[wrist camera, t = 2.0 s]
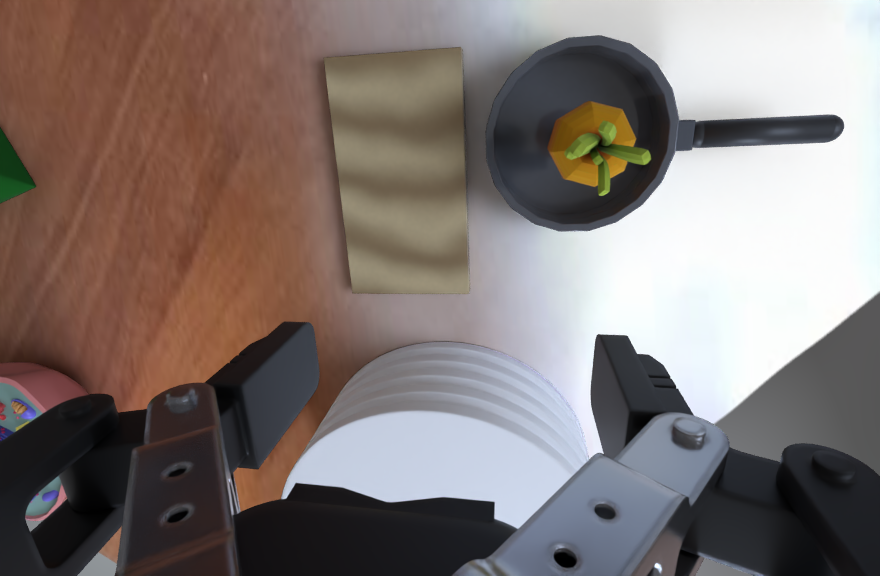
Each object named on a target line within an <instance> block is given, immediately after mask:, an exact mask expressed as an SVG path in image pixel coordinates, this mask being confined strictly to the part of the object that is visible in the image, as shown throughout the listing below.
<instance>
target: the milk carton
mask: <svg viewBox="0 0 880 576" xmlns="http://www.w3.org/2000/svg"><path fill="white" fill-rule="evenodd" d="M35 187H36V185H35V184H34V182H33V180H32V179H31V177H30V175H29V174H28V172H27V170H26V169H25V167H24V165H23V164H22V162H21V160H20V159H19V157H18V156H17V154H16V152H15V151H14V149H13V147H12V146H11V144H10V142H9V141H8V139H7V137H6V136H5V134H4V133H3V131H2V129H1V128H0V203H2V202H4V201H7V200H9V199H11V198H13V197H15V196H17V195H20V194H22V193H24V192H26V191H28V190H30V189H33V188H35Z"/></svg>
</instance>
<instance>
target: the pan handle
mask: <svg viewBox="0 0 880 576" xmlns="http://www.w3.org/2000/svg"><path fill="white" fill-rule="evenodd" d="M843 129H844V122H843V120H842V119H841V118H840V117H838V116H836V115H810V116H790V117H770V118H750V119H730V120H710V121H698V122H696V121H695V120H679V126H678V134H677V143H676V151H689V150H692V147H694V148H707V147H731V146H756V145H780V144H804V143H825V142H830V141H833V140H835V139H836V138H837V137H839V136H840V134H841V133H842V132H843Z"/></svg>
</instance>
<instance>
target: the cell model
mask: <svg viewBox="0 0 880 576" xmlns="http://www.w3.org/2000/svg"><path fill="white" fill-rule="evenodd" d="M84 395H89V394H88V392H87V391H86V390H85V389H84V388H83V387H82V386H81V385H80V384H79V383H77V382H76V381H74V380H73V379H71V378H70V377H68V376H66V375H65V374H63V373H60V372H58V371H55V370H53V369H51V368H49V367H47V366H44V365H41V364H36V363H28V362H11V363H0V442H1V441H2V440H4V439H5V438H7V437H8V436H10V435H11V434H13V433H14V432H16V431H17V430H19V429H20V428H22V427H23V426H25V425H26V424H28V423H29V422H31V421H32V420H34V419H35V418H37V417H38V416H40V415H41V414H43V413H44V412H46V411H47V410H49V409H51V408H52V407H54V406H56V405H58V404H60V403H62V402H65V401H67V400H70V399H73V398H76V397H80V396H84ZM66 498H67V496H66V494H65V491H64V488H63V486H62V483H61V480H60V478H59V476H58V477H56V478H55V479H54V480H53V481H52V482H50V483H49V484H48V485H47V486H46V487H44V488H43V489H42V490H41V491H40V492H38V493H37V494H36V495H35V496H34V498H33V499H32V500H31V502H30V503H29V505H28V508H27V510H26V516H25V519H26V520H31V521H39V520H44V519H46V518H47V517H48V516H49V515H50V514H51V513H52V512H53V511H54V510H56V509H57V508H58V507H59V506H60V505H61V504H62V503H63V502H64V500H65V499H66Z"/></svg>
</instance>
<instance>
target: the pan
mask: <svg viewBox="0 0 880 576" xmlns="http://www.w3.org/2000/svg"><path fill="white" fill-rule="evenodd" d="M588 101H592V102H596V103H600V104H604V105H608V106H612V107H616V108H620V109H623V112H624V114H625V116H626V118H627V120H628V122H629V124H630V126H631V129H632V131H633V133H634V135H635V137H636V141H635V143H634V146H633V147H637V148H643V149H646V150H648V151H649V153H650V155H651V160H650V161H649V162H648V163H647V164H645V165H641V164H635V163H632V162H627V165H626V167H625V170H624V171H623V172H621V173H619V174H617V175H615V176H614V177H612V178H610V191H609V192H608V193H607V194H606V195H604V196H599V195H598V185H597V186H595V187H593V186H589V185H585V184H581V183H577V182H574V181H570V180H566V179H563V177H562V176H561V174H560V172H559V170H558V168H557V166H556V164H555V162H554V160H553V159H552V157H551V155H550V153H549V151H548V148H547V147H548V143H549V140H550V137H551V134H552V131H553V127H554V124H555V121H556V120H557V119H559V118H560V117H562V116H564V115H565V114H567V113H568V112H570V111H572V110H573V109H575V108H577V107H578V106H580V105H582V104H583V103H585V102H588ZM678 126H679V116H678V112H677V107H676V102H675V97H674V93H673V89H672V87H671V86H670V84H669V82H668V81H667V79H666V78H665V76H664V75H663V73H662V71H661V70H660V68H659V67H658V65H657V63H655V62H654V61H653V60H652V59H650V58H649V57H648V56H646V55H645V54H644V53H642V52H641V51H640V50H638V49H637V48H636V47H634V46H633V45H631V44H630V43H626V42H622V41H619V40H615V39H612V38H608V37H605V36H600V35H598V36H585V37H572V38H568V39H567V38H566V39H564V40H561V41H559V42H557V43H554V44H552V45H550V46H547V47H545V48H543V49H540V50H538V51H536V52H535V53H534V54H533V55H532V56H531V57H529V58H528V59H527V60H526V61H525V62H524V63H522V64H521V65H520V66H519V67H518V68H516V69H515V70H514V71H513V72H512V73H511V75H510V76H509V78H508V79H507V81H506V82H505V84H504V85H503V87H502V89H501V90H500V92H499V93H498V95H497V96H496V98H495V100H494V103H493V106H492V109H491V113H490V116H489V120H488V123H487V127H486V159H487V160H486V161H487V164H488V167H489V170H490V173H491V176H492V179H493V182H494V184H495V186H496V188H497V190H498V191H499V192H500V194H501V195H502V196H503V198H504V199H505V200H506V202H507V203H508V204H509V206H510V207H511V208H512V209H513V210H515V211H516V212H518V213H519V214H521V215H522V216H523V217H525V218H526V219H528V220H529V221H531V222H532V223H534V224H536V225H540V226H543V227H546V228H550V229H553V230H556V231H590V230H594V229H597V228H600V227H603V226H606V225H609V224H612V223H616V222H617V221H619V220H620V219H622V218H623V217H625V216H626V215H628V214H629V213H631V212H632V211H634V210H635V209H637V208H638V207H640V206H641V205H643V203H644V202H645V201H646V200H647V199H648V198H649V196H650V195H651V194H652V193H653V192H654V191H655V189H656V188H657V187H658V186H659V185H660V183H661V182H662V180H663V179H664V176H665V174H666V172H667V170H668V167H669V165H670V163H671V161H672V158H673V156H674V154H675V151H676V143H677V134H678Z"/></svg>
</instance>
